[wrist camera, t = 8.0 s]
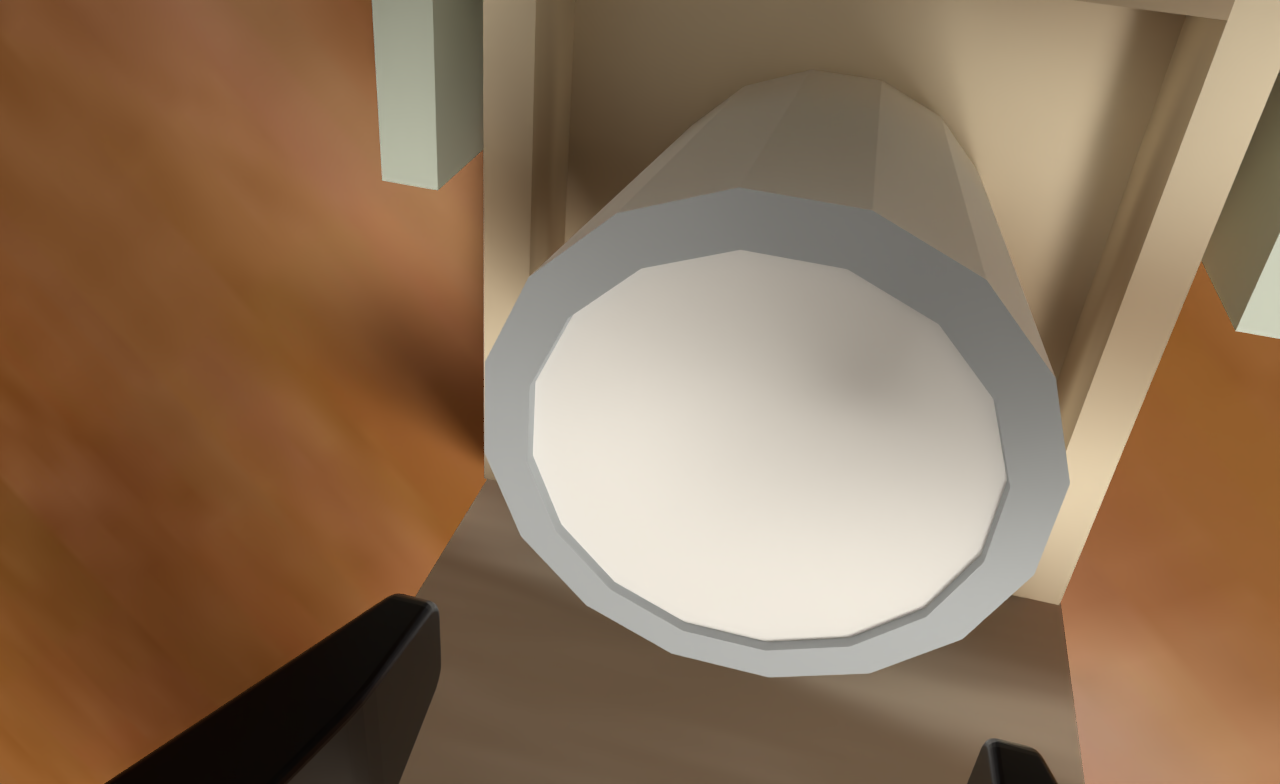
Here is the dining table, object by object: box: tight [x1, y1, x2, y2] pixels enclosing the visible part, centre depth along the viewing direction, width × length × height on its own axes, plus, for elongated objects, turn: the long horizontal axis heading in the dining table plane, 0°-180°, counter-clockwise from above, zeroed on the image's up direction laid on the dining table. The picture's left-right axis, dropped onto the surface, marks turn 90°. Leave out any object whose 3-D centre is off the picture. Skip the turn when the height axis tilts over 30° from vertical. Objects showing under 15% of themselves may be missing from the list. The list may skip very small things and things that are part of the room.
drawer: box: [399, 0, 1280, 784], centre depth 16 cm, size 14×12×10 cm
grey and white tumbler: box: [484, 69, 1070, 677], centre depth 15 cm, size 7×7×7 cm
